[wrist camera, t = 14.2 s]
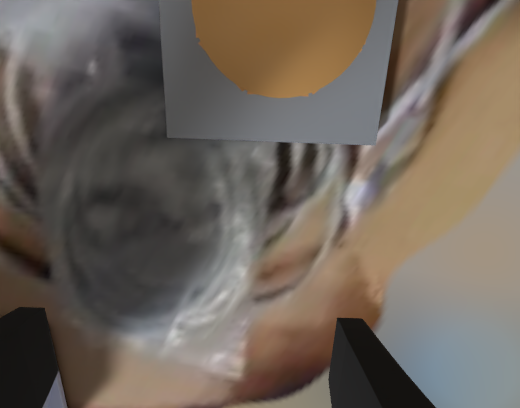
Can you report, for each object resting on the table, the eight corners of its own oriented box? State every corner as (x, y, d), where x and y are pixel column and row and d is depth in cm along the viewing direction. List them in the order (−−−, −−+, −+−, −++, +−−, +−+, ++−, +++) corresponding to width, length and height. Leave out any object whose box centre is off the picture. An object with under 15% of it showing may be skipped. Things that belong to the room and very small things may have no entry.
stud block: (369, 139, 18) (402, 171, 13) (171, 132, 18) (143, 161, 13) (411, -139, 14) (475, -216, 9) (156, -150, 14) (109, -232, 9)
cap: (212, 79, 16) (194, 94, 11) (211, -69, 14) (188, -116, 9) (336, 84, 16) (362, 101, 11) (352, -63, 14) (391, -108, 9)
